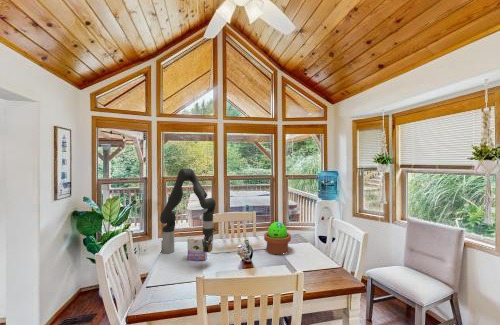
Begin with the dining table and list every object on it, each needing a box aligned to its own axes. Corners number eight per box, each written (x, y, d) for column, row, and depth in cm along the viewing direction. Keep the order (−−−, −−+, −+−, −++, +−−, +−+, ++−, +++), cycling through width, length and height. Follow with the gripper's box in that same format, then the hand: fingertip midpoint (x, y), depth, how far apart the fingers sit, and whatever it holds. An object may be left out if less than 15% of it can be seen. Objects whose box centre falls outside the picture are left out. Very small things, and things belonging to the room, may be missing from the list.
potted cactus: (267, 245, 219) (267, 217, 219) (292, 247, 214) (292, 219, 213) (261, 254, 198) (261, 223, 198) (289, 257, 192) (289, 225, 192)
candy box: (207, 258, 191) (207, 237, 191) (205, 261, 185) (205, 239, 185) (190, 257, 192) (190, 236, 192) (187, 260, 186) (187, 238, 186)
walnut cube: (203, 251, 174) (203, 244, 174) (205, 249, 179) (206, 242, 179) (209, 252, 173) (209, 245, 172) (212, 250, 177) (212, 243, 177)
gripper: (207, 223, 183) (206, 246, 183) (198, 229, 169) (198, 253, 170) (216, 224, 181) (216, 247, 182) (208, 230, 167) (208, 254, 168)
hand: (207, 250), depth 176 cm, fingers closed on walnut cube, 5 cm apart
